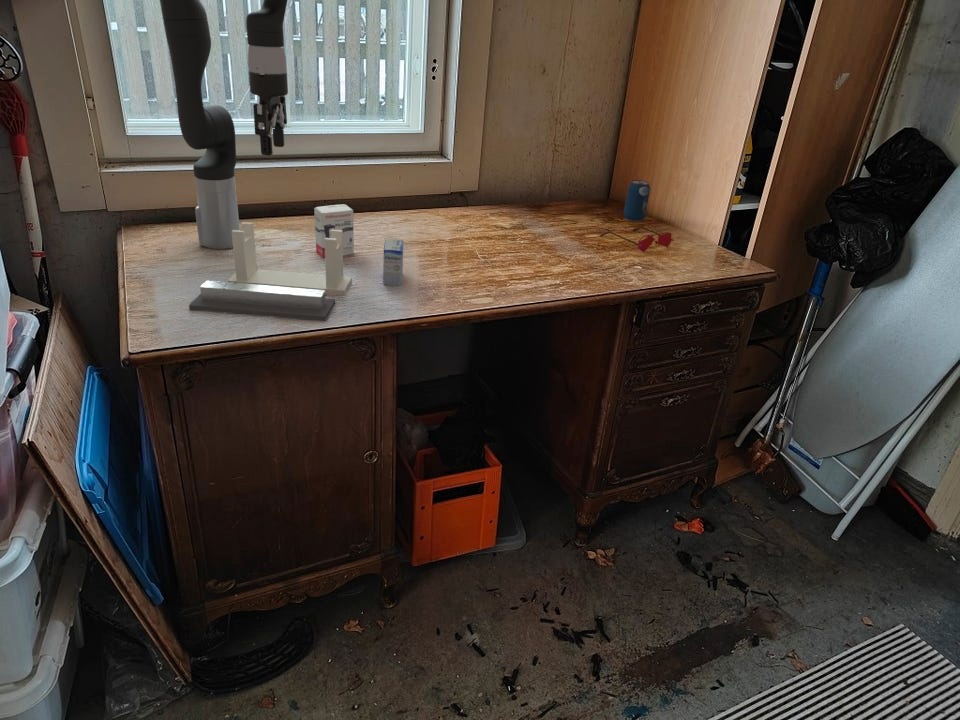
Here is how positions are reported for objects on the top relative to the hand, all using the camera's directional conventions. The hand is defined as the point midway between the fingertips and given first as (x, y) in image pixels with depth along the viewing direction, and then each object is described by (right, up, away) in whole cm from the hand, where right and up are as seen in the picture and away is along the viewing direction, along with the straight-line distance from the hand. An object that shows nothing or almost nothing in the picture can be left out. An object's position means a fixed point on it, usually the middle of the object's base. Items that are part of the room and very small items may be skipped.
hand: (273, 150), depth 148 cm
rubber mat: (-1, -34, -3) cm, 34 cm away
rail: (-1, -33, -4) cm, 33 cm away
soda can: (+94, +1, +75) cm, 121 cm away
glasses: (+90, -11, +55) cm, 106 cm away
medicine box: (+24, -26, +15) cm, 39 cm away
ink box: (+8, -18, +28) cm, 34 cm away
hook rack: (+2, -28, +8) cm, 29 cm away
